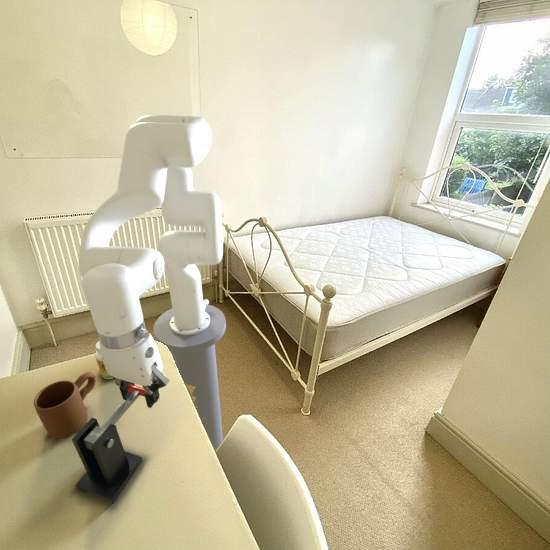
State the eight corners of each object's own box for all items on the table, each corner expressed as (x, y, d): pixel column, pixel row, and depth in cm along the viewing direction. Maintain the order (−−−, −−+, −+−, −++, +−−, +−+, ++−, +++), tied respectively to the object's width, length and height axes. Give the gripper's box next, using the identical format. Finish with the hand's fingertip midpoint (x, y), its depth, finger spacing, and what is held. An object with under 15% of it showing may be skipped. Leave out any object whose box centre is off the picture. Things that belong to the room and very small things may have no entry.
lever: (132, 389, 64) (130, 381, 63) (152, 395, 63) (151, 387, 62) (79, 446, 53) (76, 437, 52) (103, 454, 52) (100, 445, 51)
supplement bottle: (112, 382, 77) (103, 353, 73) (97, 375, 79) (86, 347, 74) (129, 368, 82) (121, 339, 77) (114, 361, 83) (105, 333, 79)
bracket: (109, 448, 63) (93, 406, 57) (142, 460, 61) (129, 418, 55) (76, 489, 56) (54, 447, 50) (113, 504, 54) (94, 462, 48)
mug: (91, 390, 75) (81, 361, 71) (113, 402, 72) (103, 373, 68) (40, 430, 66) (24, 400, 61) (62, 446, 63) (47, 416, 58)
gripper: (176, 327, 56) (187, 394, 65) (99, 309, 60) (120, 375, 69) (150, 356, 50) (167, 425, 59) (66, 333, 54) (94, 402, 63)
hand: (141, 397), depth 64 cm, fingers closed on lever, 5 cm apart
